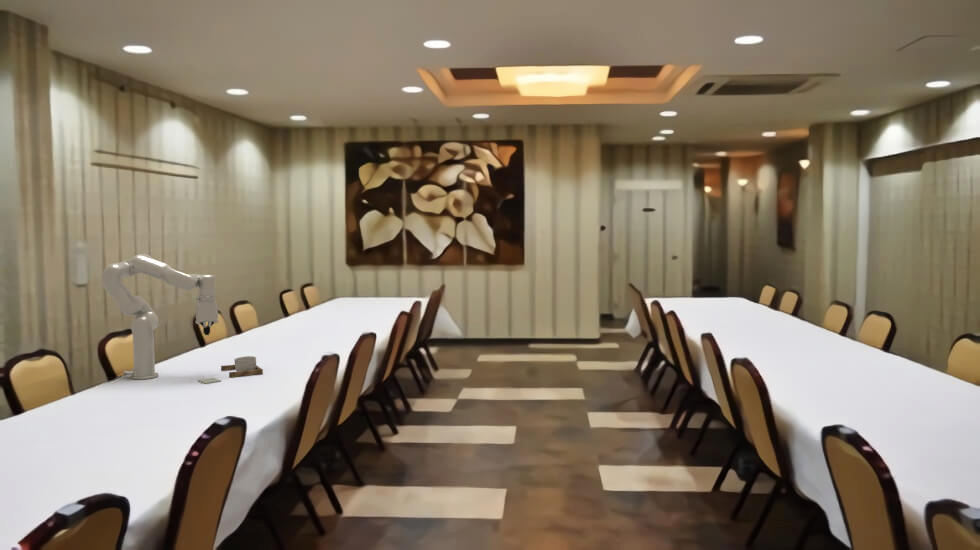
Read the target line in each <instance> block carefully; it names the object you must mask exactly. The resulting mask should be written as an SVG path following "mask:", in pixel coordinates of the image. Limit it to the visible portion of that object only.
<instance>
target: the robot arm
mask: <svg viewBox="0 0 980 550" xmlns="http://www.w3.org/2000/svg"><path fill="white" fill-rule="evenodd" d="M138 274H144V275H147V276H150V277H153V278H156V279H157V280H161V281H162V282H164V283H167V284H169V285H171V286H173V287H177V288H179V289H182V290H186V291H190V290H194V289H198V296H195V300H197V303H196V309H195V310H196V311H195V324H197V325H200V326H201V327H203V332H202V333H203V334H204V336H209V335H210V333H211V328H212V326H213V325H214V324H218V323H219V311H218V309H219V308H218V302H217V300H216V277H215V275H213V274H198V273H189V274H187V273H185V272H181V271H178V270H175V269H174V268H172V267H171V266H170V265H169V264H168V263H167V262H163V261H160V260H158V259H155V258H153V257H152V256H151V255H149V254H148V253H138V254H135V255H134V256H132V257H131V258H129V259H126V260H123V261H121V262H113V263H111V264H110V263H109V265H107V266H106V267H105V268H104V270H103V271H102V274H101V284H102V286H103V288H104V290H105V291H106V292H107V294H108V295H109V296H110V297H111V299H112V301H113V302H114V303H115V304H116V306H117V307H118V308H119V310H120V311H121V313H122V314H123V315H125V316H128V317H130V316H131V317H133V320H132V322H131V329H130V330H131V333H132V347H133V348H132V349H133V351H132V352H133V367H132V368H131V369H130V370H123V375H128V376H129V375H130V379H133V380H149V379H154V378H157V377H158V376H159V372H156V367H155V366H156V365H155V338H154V337H155V336H154V331H155V329H157V327H158V326H159V324H160V323H159V317H158V315H157V313H155V311H154V310H153V309H152V307H151V306H150V305H149V303H148V302H147V301H146V300H145V299H144V298H143V297H142V296H140V295H134V294H133V293H132V292H131V291H130V289H129V288H128V287H127V285H126V284H124V283H123V281H122V280H124V279H128V278H130V277H133V276H135V275H138ZM206 322H207V323H206Z"/></svg>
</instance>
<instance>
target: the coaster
mask: <svg viewBox="0 0 980 550" xmlns="http://www.w3.org/2000/svg"><path fill="white" fill-rule="evenodd" d="M200 382H201V384H204V385H209V384H215V383H216V384H217V383H221V382H222V380H221V379H218V378H216V377H209V378H204V379H203V378H202V379H199V380H197V383H200Z"/></svg>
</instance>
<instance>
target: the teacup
mask: <svg viewBox="0 0 980 550" xmlns="http://www.w3.org/2000/svg"><path fill="white" fill-rule="evenodd" d="M233 360H234V365H235V369H236V370H235V372H237V371H248V370H255V369H256V365H257V356H252V355H246V356H240V357H236V358H234V359H233Z"/></svg>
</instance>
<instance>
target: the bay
mask: <svg viewBox="0 0 980 550" xmlns="http://www.w3.org/2000/svg"><path fill="white" fill-rule="evenodd" d="M263 370H264V369H263V368H262V367H259V366H258V365H257V364H256V369H255V370H248V371H236V369H235V364H225V365H220V371H221V372H223V371H224V372H226V371H229V372H228V378H231V379H232V378H239V377H240V378H241V377H250V376H261V375H264V371H263Z"/></svg>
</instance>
